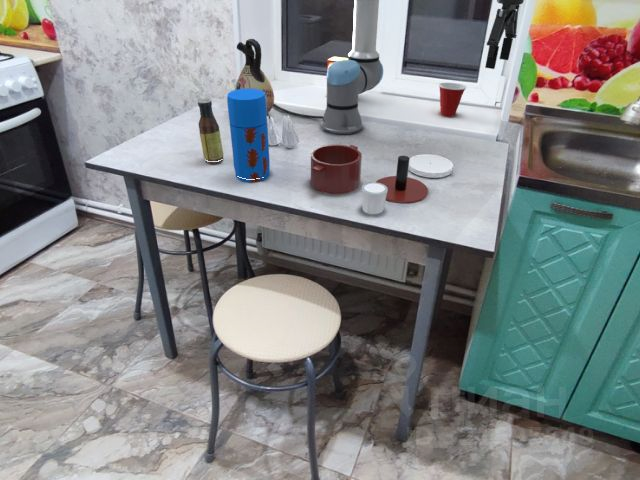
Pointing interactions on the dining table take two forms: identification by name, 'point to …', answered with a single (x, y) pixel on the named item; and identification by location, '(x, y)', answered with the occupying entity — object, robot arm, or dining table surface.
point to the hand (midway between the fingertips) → (497, 63)
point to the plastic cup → (450, 98)
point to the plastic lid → (430, 166)
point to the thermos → (249, 134)
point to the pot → (336, 168)
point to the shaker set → (288, 133)
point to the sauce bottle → (209, 133)
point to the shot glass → (373, 197)
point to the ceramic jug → (254, 72)
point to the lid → (403, 185)
